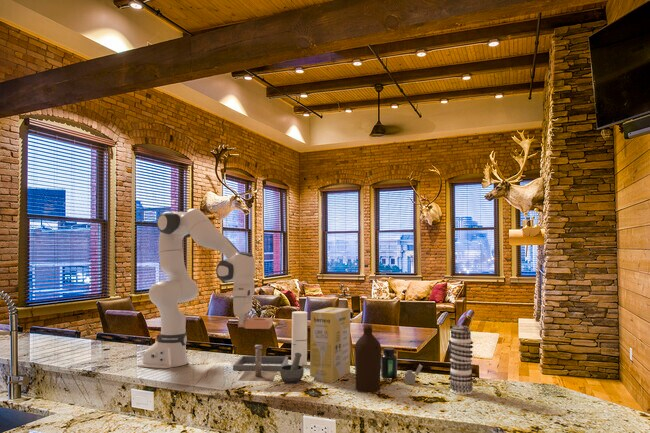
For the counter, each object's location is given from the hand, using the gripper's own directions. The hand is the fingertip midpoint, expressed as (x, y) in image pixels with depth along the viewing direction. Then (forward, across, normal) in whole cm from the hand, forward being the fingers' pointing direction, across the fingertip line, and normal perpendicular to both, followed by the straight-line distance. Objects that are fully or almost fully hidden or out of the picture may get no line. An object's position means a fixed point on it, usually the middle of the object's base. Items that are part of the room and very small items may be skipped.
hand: (243, 323), depth 199 cm
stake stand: (+23, +1, +7) cm, 24 cm away
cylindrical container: (+23, -21, +22) cm, 38 cm away
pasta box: (+23, -7, +37) cm, 44 cm away
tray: (+23, -17, +5) cm, 29 cm away
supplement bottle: (+23, -7, +62) cm, 66 cm away
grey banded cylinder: (+23, +12, +88) cm, 92 cm away
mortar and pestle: (+23, +7, +22) cm, 33 cm away
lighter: (+23, +3, +71) cm, 75 cm away
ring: (+1, 0, +5) cm, 5 cm away
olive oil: (+23, +11, +52) cm, 58 cm away
